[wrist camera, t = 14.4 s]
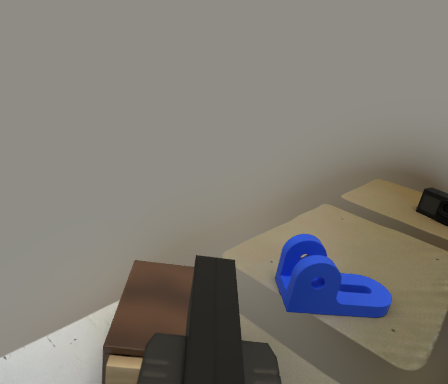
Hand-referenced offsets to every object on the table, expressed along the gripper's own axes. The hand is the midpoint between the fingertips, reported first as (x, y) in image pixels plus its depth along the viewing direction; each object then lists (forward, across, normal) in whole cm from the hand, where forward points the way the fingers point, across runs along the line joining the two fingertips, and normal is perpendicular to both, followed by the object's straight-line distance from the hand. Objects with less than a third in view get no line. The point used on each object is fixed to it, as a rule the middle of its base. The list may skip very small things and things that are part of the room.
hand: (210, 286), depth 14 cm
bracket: (+36, +24, -27) cm, 51 cm away
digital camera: (+77, +65, -27) cm, 104 cm away
